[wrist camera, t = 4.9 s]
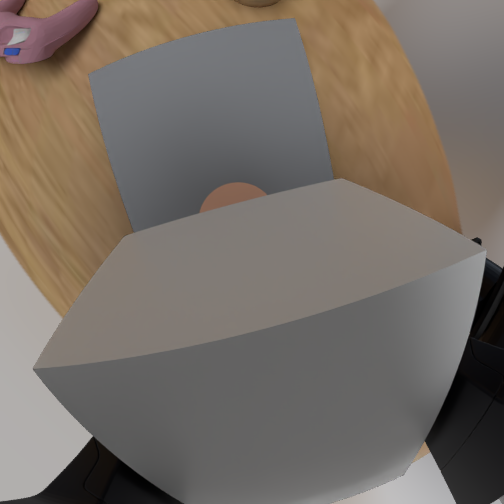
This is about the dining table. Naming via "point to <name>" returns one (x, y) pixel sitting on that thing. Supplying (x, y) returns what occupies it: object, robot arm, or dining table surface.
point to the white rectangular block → (270, 345)
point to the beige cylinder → (257, 2)
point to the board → (211, 121)
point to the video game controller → (40, 30)
